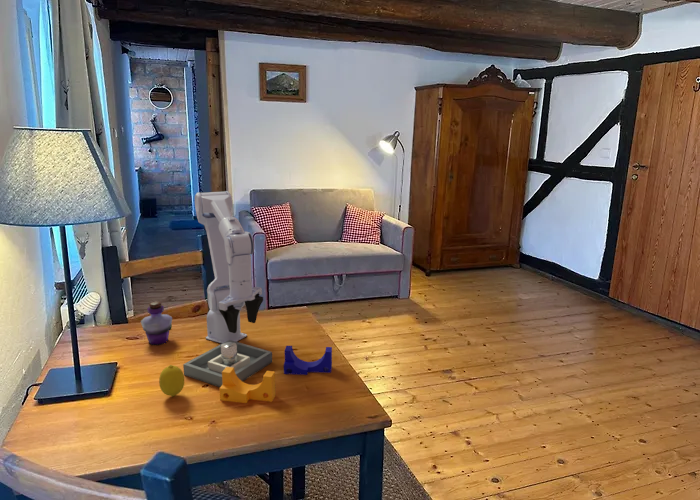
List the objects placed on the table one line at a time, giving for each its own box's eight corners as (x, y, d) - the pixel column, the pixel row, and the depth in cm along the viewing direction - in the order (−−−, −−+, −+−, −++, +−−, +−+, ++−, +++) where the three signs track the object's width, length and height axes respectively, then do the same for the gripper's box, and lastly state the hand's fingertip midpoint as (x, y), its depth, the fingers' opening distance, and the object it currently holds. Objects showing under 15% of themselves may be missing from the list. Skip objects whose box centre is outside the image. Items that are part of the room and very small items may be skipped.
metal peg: (218, 368, 130) (217, 347, 128) (228, 361, 133) (227, 341, 132) (231, 371, 128) (230, 350, 126) (240, 364, 132) (239, 343, 130)
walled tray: (184, 375, 127) (183, 364, 126) (229, 349, 142) (229, 339, 141) (228, 390, 120) (228, 379, 119) (272, 362, 135) (272, 351, 134)
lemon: (162, 404, 114) (159, 373, 112) (159, 393, 118) (156, 362, 116) (187, 399, 116) (185, 368, 114) (183, 388, 121) (181, 358, 119)
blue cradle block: (283, 374, 129) (283, 353, 127) (286, 366, 133) (286, 345, 131) (330, 376, 128) (330, 354, 127) (331, 367, 132) (331, 347, 131)
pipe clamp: (220, 400, 116) (218, 375, 114) (227, 391, 120) (226, 366, 119) (269, 406, 114) (268, 380, 113) (275, 396, 118) (274, 371, 117)
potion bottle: (180, 338, 148) (177, 300, 145) (158, 350, 141) (155, 310, 138) (158, 333, 152) (155, 296, 149) (136, 344, 144) (132, 305, 141)
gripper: (232, 289, 122) (235, 340, 126) (270, 274, 135) (271, 321, 138) (211, 284, 126) (214, 333, 129) (250, 270, 138) (251, 315, 141)
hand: (242, 326), depth 134 cm, fingers open, 7 cm apart
